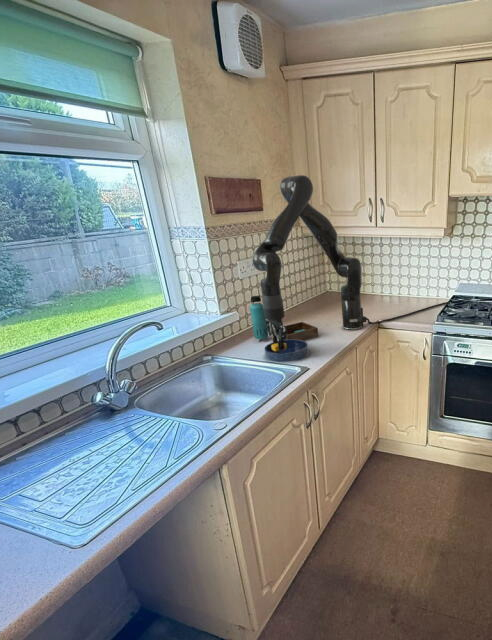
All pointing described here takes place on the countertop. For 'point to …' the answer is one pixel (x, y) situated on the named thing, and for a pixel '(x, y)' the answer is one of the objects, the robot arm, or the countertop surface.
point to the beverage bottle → (258, 319)
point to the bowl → (288, 351)
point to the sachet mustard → (276, 348)
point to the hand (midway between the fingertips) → (279, 347)
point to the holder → (302, 335)
